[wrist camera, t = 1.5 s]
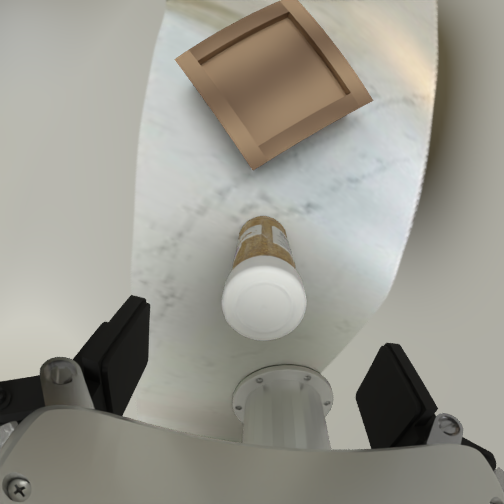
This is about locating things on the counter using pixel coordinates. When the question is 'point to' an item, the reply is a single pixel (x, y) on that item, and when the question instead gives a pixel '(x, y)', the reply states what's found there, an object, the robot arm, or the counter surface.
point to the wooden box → (273, 80)
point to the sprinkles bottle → (263, 283)
